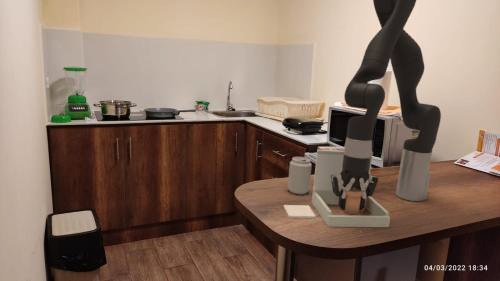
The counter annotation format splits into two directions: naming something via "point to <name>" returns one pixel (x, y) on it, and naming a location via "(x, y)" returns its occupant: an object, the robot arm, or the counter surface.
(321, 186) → the cold frame
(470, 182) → the counter surface
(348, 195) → the clay pot
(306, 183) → the can
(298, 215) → the tile
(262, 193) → the counter surface
